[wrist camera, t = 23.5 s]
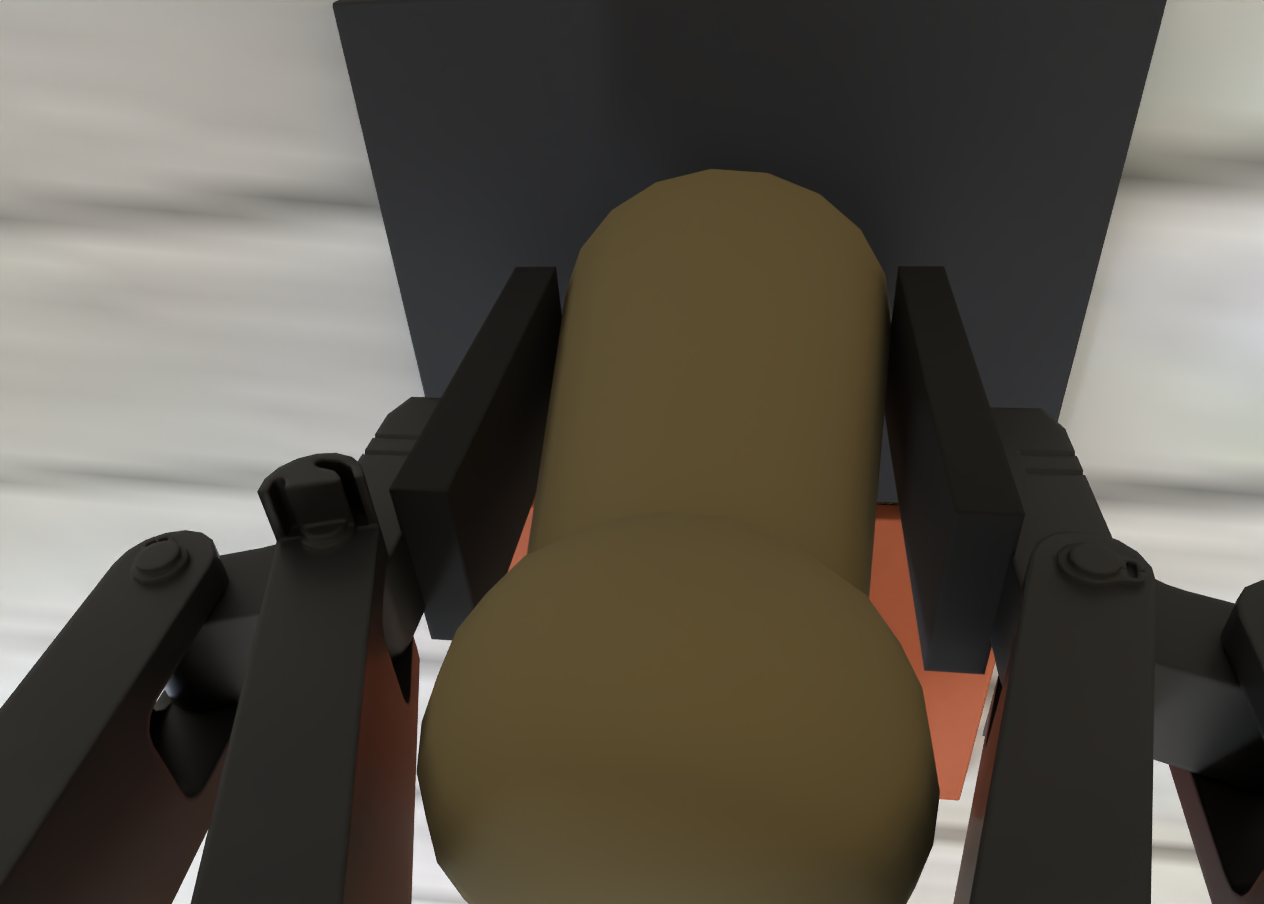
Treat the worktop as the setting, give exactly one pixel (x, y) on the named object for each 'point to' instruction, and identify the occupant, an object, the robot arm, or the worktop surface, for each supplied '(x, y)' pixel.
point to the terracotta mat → (909, 653)
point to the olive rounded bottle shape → (695, 586)
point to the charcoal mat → (758, 144)
